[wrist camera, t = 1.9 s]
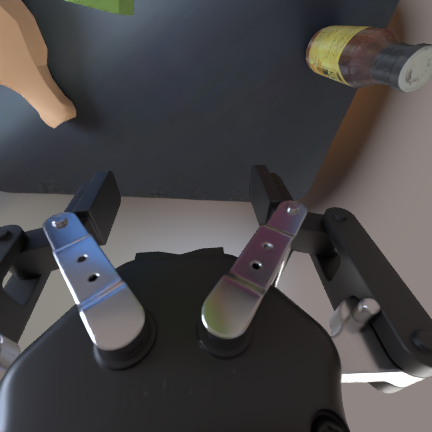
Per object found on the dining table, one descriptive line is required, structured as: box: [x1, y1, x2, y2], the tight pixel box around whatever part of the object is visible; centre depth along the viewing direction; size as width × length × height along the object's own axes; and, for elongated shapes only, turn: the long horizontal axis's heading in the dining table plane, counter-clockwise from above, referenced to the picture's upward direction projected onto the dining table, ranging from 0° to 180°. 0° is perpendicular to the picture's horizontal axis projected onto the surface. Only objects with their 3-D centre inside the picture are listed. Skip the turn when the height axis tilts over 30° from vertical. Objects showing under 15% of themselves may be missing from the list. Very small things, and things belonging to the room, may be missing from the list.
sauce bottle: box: [306, 26, 432, 92], centre depth 30 cm, size 6×6×20 cm
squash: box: [0, 0, 76, 128], centre depth 31 cm, size 11×20×9 cm, turn 18°
